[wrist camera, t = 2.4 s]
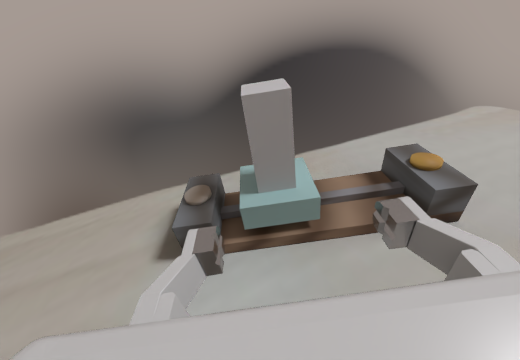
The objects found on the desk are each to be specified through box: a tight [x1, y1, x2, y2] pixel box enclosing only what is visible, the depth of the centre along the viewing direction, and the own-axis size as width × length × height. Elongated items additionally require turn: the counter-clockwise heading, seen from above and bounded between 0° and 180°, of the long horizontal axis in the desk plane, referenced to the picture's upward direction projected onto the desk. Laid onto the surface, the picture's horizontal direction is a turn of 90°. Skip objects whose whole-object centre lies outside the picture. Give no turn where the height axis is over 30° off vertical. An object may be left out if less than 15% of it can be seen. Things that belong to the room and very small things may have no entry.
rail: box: [172, 144, 478, 253], centre depth 26 cm, size 30×9×6 cm, turn 94°
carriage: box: [240, 79, 321, 230], centre depth 23 cm, size 8×8×13 cm
